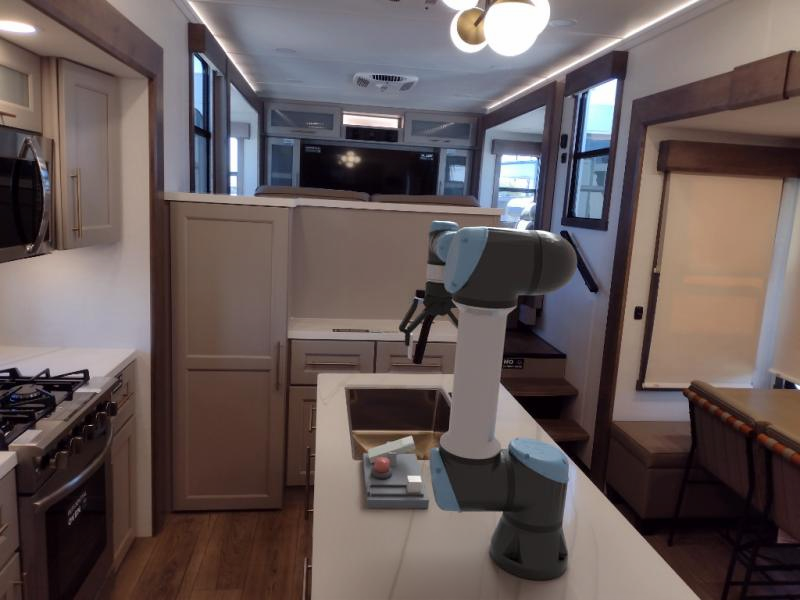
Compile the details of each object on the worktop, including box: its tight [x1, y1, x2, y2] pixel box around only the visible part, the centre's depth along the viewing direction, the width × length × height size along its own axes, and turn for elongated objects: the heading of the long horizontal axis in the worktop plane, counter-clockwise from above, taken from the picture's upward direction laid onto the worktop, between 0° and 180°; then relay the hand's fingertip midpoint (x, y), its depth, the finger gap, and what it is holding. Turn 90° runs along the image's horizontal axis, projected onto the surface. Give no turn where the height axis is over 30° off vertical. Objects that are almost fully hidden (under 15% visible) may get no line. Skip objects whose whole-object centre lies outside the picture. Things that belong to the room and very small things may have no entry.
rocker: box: [367, 435, 416, 463], centre depth 149 cm, size 5×12×2 cm, turn 96°
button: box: [374, 457, 390, 473], centre depth 141 cm, size 4×4×2 cm
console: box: [362, 441, 430, 509], centre depth 142 cm, size 24×14×6 cm, turn 6°
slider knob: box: [407, 476, 422, 493], centre depth 134 cm, size 3×3×3 cm
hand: (434, 358), depth 156 cm, fingers open, 13 cm apart
